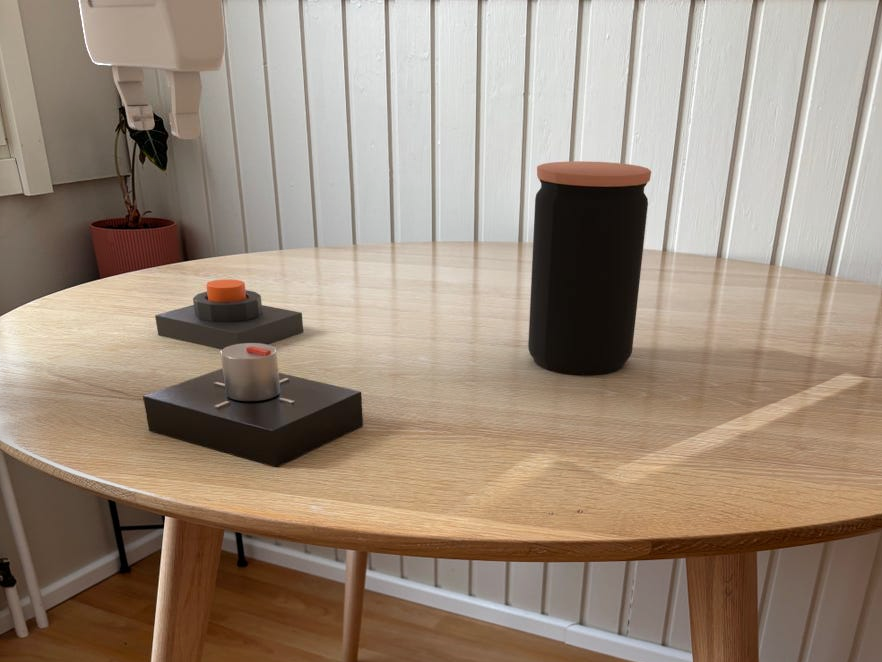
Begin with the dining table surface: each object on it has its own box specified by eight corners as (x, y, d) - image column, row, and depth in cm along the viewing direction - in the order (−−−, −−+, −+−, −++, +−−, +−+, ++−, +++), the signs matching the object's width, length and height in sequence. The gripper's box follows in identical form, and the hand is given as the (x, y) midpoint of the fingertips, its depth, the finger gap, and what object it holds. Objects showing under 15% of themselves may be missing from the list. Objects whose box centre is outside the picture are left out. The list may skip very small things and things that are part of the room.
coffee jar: (651, 363, 97) (674, 169, 87) (584, 384, 91) (601, 178, 81) (573, 341, 103) (586, 158, 94) (505, 359, 97) (512, 166, 87)
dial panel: (148, 431, 78) (141, 393, 76) (241, 395, 86) (236, 361, 84) (276, 467, 72) (272, 428, 70) (363, 425, 80) (361, 389, 78)
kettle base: (158, 335, 102) (151, 297, 100) (223, 316, 109) (219, 280, 107) (240, 354, 97) (235, 314, 95) (303, 332, 104) (300, 295, 102)
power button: (200, 301, 100) (198, 284, 99) (227, 294, 103) (224, 277, 102) (228, 306, 99) (225, 289, 98) (254, 299, 101) (252, 282, 101)
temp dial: (214, 395, 77) (208, 348, 75) (251, 381, 80) (246, 336, 78) (255, 405, 75) (249, 357, 73) (291, 390, 78) (287, 344, 76)
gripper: (42, -73, 74) (83, 126, 82) (137, -94, 60) (174, 147, 68) (121, -68, 77) (153, 123, 85) (228, -88, 64) (254, 142, 71)
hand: (163, 134), depth 76 cm, fingers open, 8 cm apart
